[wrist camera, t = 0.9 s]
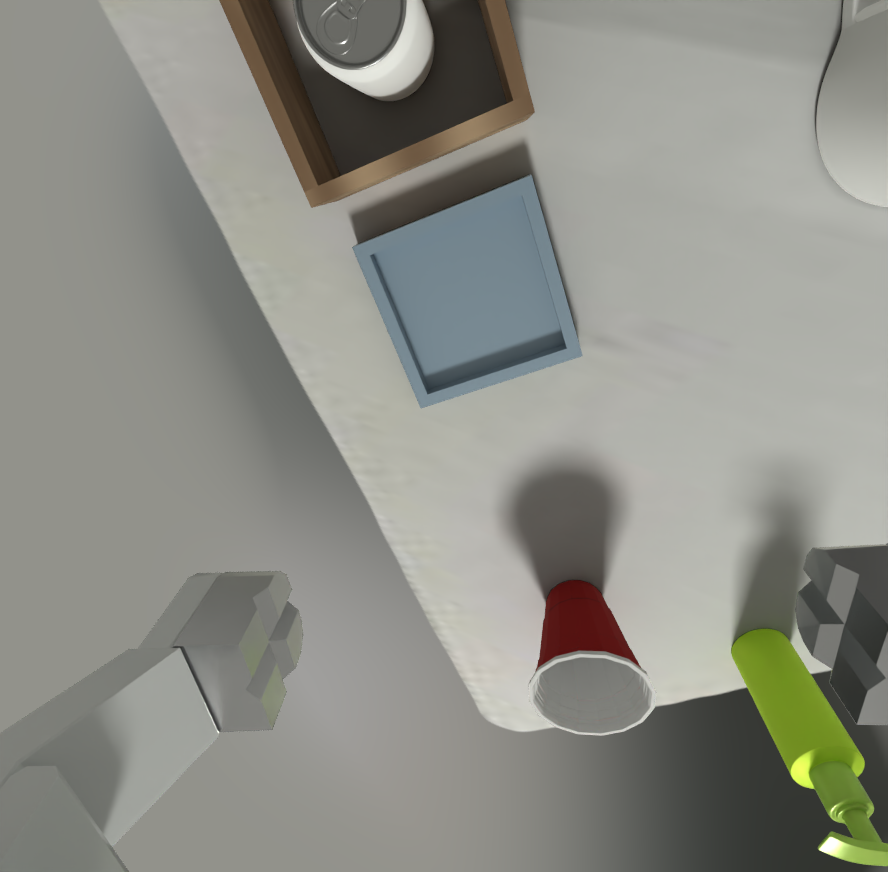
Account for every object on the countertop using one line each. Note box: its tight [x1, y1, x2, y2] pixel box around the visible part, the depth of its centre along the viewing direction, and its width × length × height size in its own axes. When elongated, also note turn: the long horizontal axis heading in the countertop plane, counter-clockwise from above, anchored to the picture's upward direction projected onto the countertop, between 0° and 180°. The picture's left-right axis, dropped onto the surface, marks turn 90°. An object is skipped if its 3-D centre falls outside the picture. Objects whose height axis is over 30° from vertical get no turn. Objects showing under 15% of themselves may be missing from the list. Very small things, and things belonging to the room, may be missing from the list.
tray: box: [352, 174, 582, 408], centre depth 44 cm, size 14×14×2 cm
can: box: [293, 0, 434, 101], centre depth 32 cm, size 6×6×12 cm
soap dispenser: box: [731, 629, 888, 866], centre depth 50 cm, size 6×7×20 cm
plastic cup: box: [528, 580, 656, 735], centre depth 53 cm, size 11×11×12 cm
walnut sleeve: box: [220, 0, 535, 208], centre depth 34 cm, size 15×15×7 cm
